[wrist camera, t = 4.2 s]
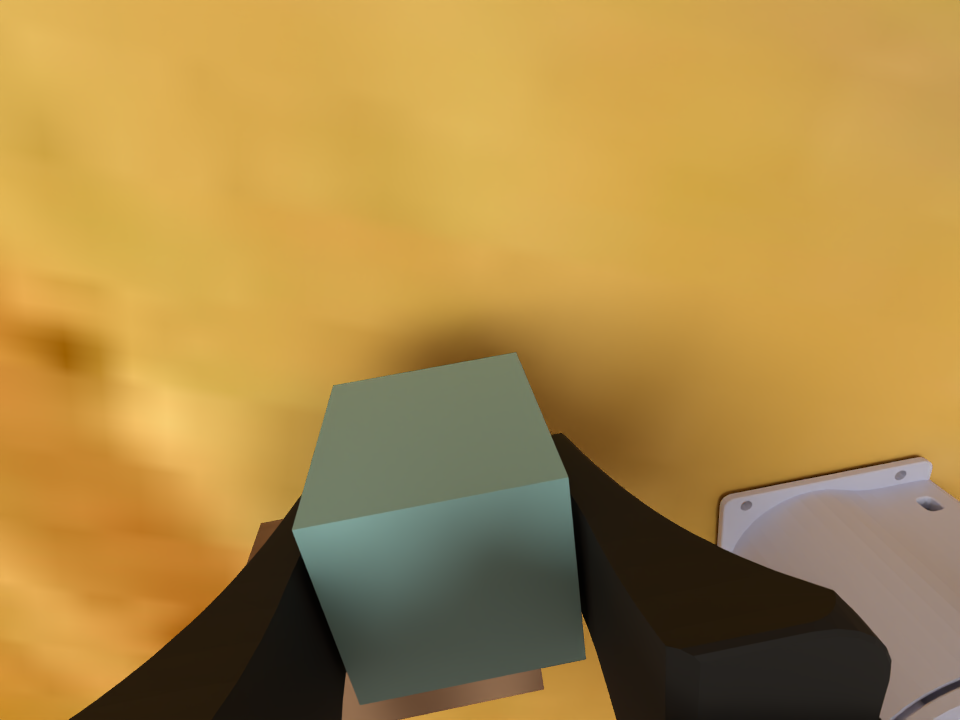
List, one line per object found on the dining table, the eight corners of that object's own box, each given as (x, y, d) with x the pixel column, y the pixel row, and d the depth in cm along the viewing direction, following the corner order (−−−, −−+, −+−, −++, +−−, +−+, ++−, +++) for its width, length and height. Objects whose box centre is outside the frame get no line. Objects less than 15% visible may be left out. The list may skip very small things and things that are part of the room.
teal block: (515, 352, 13) (568, 477, 9) (535, 496, 15) (585, 659, 11) (333, 385, 13) (291, 530, 9) (375, 527, 15) (359, 705, 11)
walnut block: (504, 469, 23) (517, 519, 20) (530, 630, 27) (544, 689, 24) (263, 516, 22) (243, 573, 20) (330, 671, 27) (321, 736, 24)
